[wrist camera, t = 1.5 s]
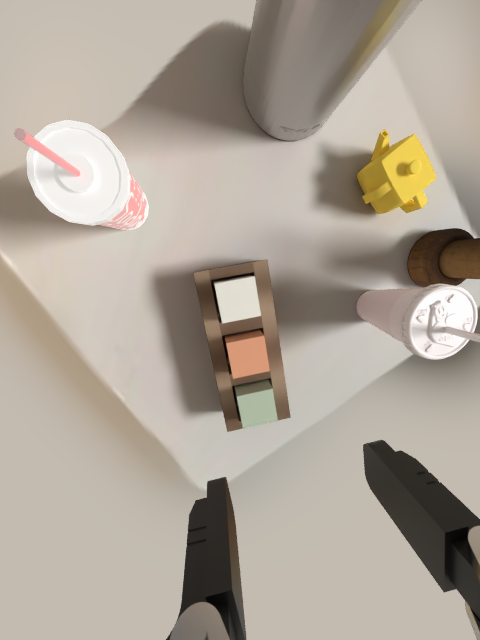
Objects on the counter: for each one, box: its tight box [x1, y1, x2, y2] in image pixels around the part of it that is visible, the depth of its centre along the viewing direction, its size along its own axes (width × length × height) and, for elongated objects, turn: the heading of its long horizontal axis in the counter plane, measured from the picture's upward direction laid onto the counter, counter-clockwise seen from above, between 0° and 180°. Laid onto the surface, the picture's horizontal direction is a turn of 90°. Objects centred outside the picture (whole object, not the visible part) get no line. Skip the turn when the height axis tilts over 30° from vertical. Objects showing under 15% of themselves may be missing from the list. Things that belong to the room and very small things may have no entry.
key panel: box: [193, 260, 290, 432], centre depth 27 cm, size 17×7×4 cm, turn 11°
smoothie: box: [356, 284, 480, 359], centre depth 23 cm, size 6×6×14 cm
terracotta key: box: [225, 328, 270, 379], centre depth 25 cm, size 4×4×3 cm
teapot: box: [356, 129, 436, 214], centre depth 25 cm, size 8×6×5 cm
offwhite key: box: [214, 275, 261, 323], centre depth 24 cm, size 4×4×3 cm
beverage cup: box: [15, 120, 149, 230], centre depth 18 cm, size 6×6×14 cm
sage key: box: [235, 379, 278, 429], centre depth 26 cm, size 4×4×3 cm
